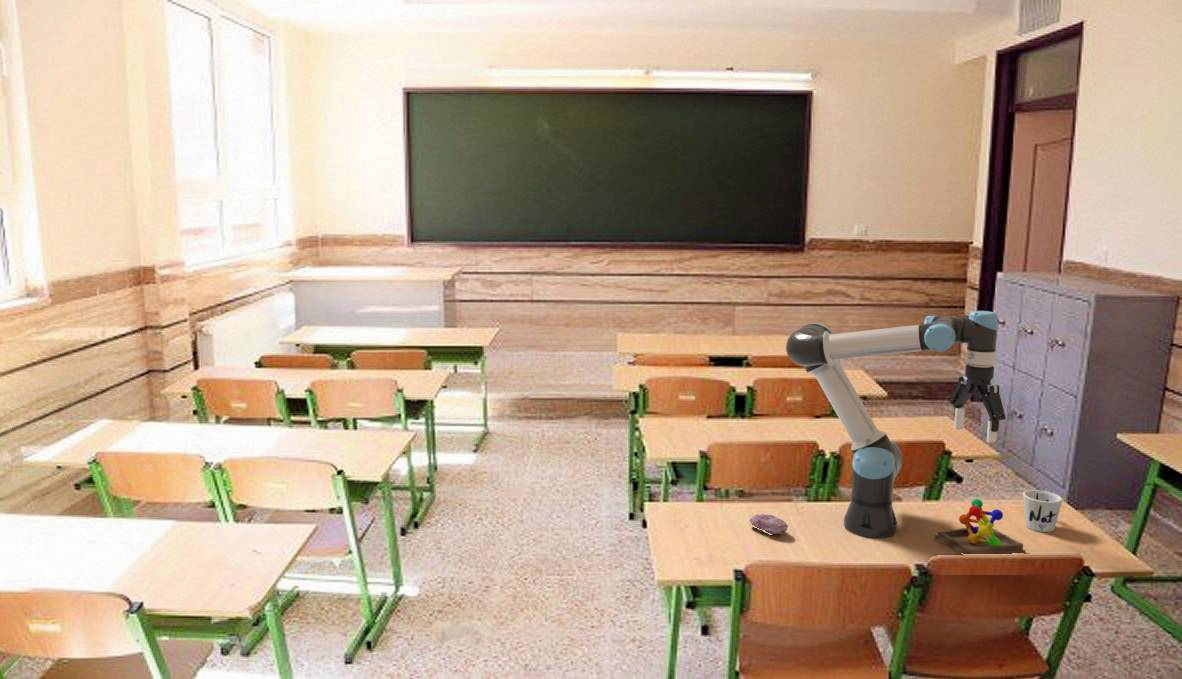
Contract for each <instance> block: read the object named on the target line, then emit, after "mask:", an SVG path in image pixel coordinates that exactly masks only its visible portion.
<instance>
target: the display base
mask: <svg viewBox="0 0 1182 679" xmlns="http://www.w3.org/2000/svg"><path fill="white" fill-rule="evenodd" d="M976 527H978V528H979V527H980V526H979V525H978V526H976ZM992 530H993V533H994V535H995V538H996V539H998V540H1000V542H1001V546H994V547H991V546H990V544H986V543H982V542H978V543H977V544H971V543H970V542H969V541H968V536H969V535H970V534H969V532H968V530H967V528H966V527H963V528H955V529H948V530H941V531H937V534H935V536H934V539H935V540H937V542H940V543H941V544H944V545H945V546H947V547H948V548H950V549H951V550H953V551H955V552H957V553H959V554H960V553H963V554H1012V553H1025V554H1026V550H1025V549H1024V543H1021V542H1020V541H1018V540H1016V539H1014V538H1012V537H1010V536H1008V535H1006V534H1005V533H1003V532H1001V531H999V530H997V529H995V528H994V527H992ZM989 534H990V532H989ZM990 536H991V535H990ZM979 539H984V540H988V541H990V540H989V539H988V538H987V536H982V535H981V536H980V537H979Z"/></svg>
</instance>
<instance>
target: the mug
mask: <svg viewBox="0 0 1182 679" xmlns="http://www.w3.org/2000/svg"><path fill="white" fill-rule="evenodd" d="M1022 498H1023V499H1022V500H1023V510H1024V511H1023V512H1024V521H1025V527H1026V528H1028V529H1030V530H1032V531H1035V532H1039V533H1051V532H1053V531H1054V530H1055V527H1056V525H1057V521H1058V517H1059V514H1060V511H1061V507H1062V504H1063V497H1062V496H1060V495H1058V494H1057V493H1054V492H1052V491H1046V490H1040V489H1032V490H1031V489H1030V490H1029V489H1028V490H1025V491H1023V493H1022Z"/></svg>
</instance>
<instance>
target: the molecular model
mask: <svg viewBox="0 0 1182 679" xmlns="http://www.w3.org/2000/svg"><path fill="white" fill-rule="evenodd" d="M987 516H991V517H990V518H989V517H987ZM971 517H975V518H971ZM1003 517H1004V514H1003V512H1002V510H1000V509H993V510H992V511H988V510H987V511H986V510H983V501H982V500H981V499H979V498H974V499H972V500H971V506H970V507H969V509H968V512H967V513H965V514H961V515H960V516H959V518H958V520H959V522H960V524H961V525H964V526H965V528H967V530H968V532H969V534H970V535H969V536H968V541H969V542H970V543H971V544H977V543H978V542H982V543H986V544H990V546H991V547H994V546H1001V542H1000V540H998V539H996V538H995V535H994V533H993V530H992V528H994V527H995V522H996V521H1000V520H1002V519H1003ZM972 523H974V524H978V526H980V527H979V528H978V527H977V526H973V524H972ZM989 532H990V534H989ZM981 535H982V536H987V538H988V539H989V540H990V541H988V540H984V539H979V537H980V536H981ZM990 535H991V536H990Z"/></svg>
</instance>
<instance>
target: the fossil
mask: <svg viewBox="0 0 1182 679" xmlns="http://www.w3.org/2000/svg"><path fill="white" fill-rule="evenodd" d="M750 522H751V524H752V525H754V526H755V527H757V528H759V529H762V530H765V531H766V532H768V533H770V534H780V535H783V534H782V533H784V534H785V533H786V531H787V530H788V527H789V525H788V524H787V523H786V522H785V521H784V520H783V519H781V518H779V517H777V516H775V515H772V514H764V513H762V514H759V513H757V514H753V515H752V516H751V517H750V518H749V523H750ZM751 524H750V525H751Z"/></svg>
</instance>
